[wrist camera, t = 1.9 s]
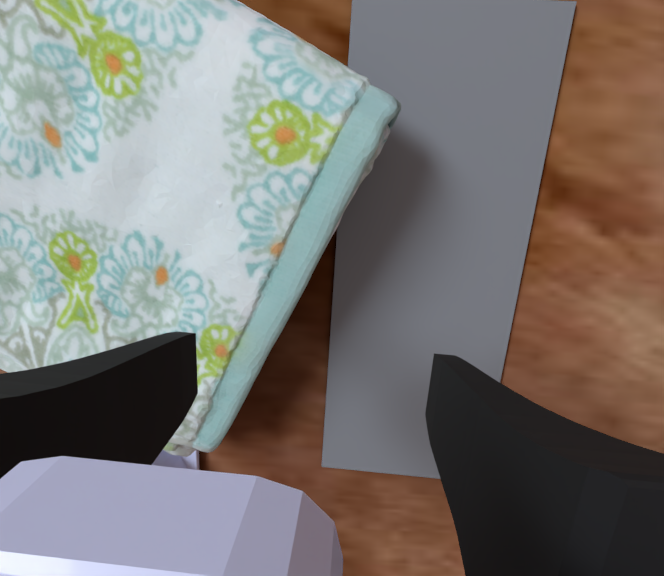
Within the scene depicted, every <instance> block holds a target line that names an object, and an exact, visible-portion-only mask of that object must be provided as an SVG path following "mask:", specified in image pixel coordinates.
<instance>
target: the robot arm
mask: <svg viewBox="0 0 664 576" xmlns="http://www.w3.org/2000/svg"><path fill="white" fill-rule="evenodd" d="M197 394H198V382H197V354H196V333H188V332H177V331H176V332H169V333H164V334H160V335H157V336H153V337H150V338H147V339H143V340H140V341H137V342H134V343H130V344H127V345H124V346H121V347H118V348H114V349H111V350H107V351H104V352H100V353H97V354H93V355H90V356H86V357H83V358H79V359H75V360H71V361H67V362H63V363H59V364H54V365H49V366H44V367H40V368H35V369H29V370H24V371H17V372H10V373H4V374H0V576H342V573H343V556H342V552H341V548H340V543H339V539H338V535H337V531H336V527H335V523H334V521H333V520H332V519H331V518H330V517H329V516H328V515H327V514H326V513H325V512H324V511H323V510H322V509H321V508H319V507H318V506H317V505H316V504H315V503H314V502H313V501H312V500H311V499H310V498H309V497H308V496H307V495H306V494H305V493H304V492H303V491H301V490H298V489H295V488H292V487H289V486H286V485H283V484H280V483H277V482H273V481H270V480H267V479H264V478H261V477H258V476H251V475H242V474H232V473H222V472H213V471H203V470H200V469H199V450H197V449H196V450H195V451H194V452H193V453H192V454H191V455H190V456H188V457H184V456H178V455H171V454H169V453H167V452H166V451H164V450H163V449H164V447H165V446H166V444H167V443H168V442H169V440H170V439H171V438H172V436H173V435H174V433H175V432H176V431H177V429H178V428H179V426H180V425H181V423H182V422H183V421H184V419H185V417H186V415H187V413H188V412H189V410H190V408H191V406H192V404H193V402H194V400H195V398H196V396H197ZM425 417H426V423H427V430H428V436H429V441H430V446H431V449H432V453H433V456H434V459H435V462H436V465H437V469H438V472H439V475H440V478H441V481H442V484H443V488H444V491H445V494H446V497H447V500H448V503H449V506H450V510H451V513H452V516H453V520H454V524H455V527H456V531H457V536H458V541H459V545H460V550H461V555H462V560H463V565H464V570H465V575H466V576H664V454H662V453H659V452H656V451H653V450H649V449H646V448H643V447H640V446H637V445H634V444H631V443H628V442H625V441H622V440H619V439H616V438H613V437H611V436H608V435H606V434H603V433H600V432H598V431H595V430H593V429H590V428H587V427H585V426H582V425H580V424H578V423H575V422H573V421H571V420H568V419H566V418H564V417H562V416H560V415H558V414H556V413H554V412H552V411H549V410H547V409H545V408H543V407H541V406H539V405H537V404H535V403H534V402H532V401H530V400H528V399H526V398H525V397H523V396H521V395H519V394H518V393H516V392H514V391H512V390H511V389H509V388H507V387H506V386H504V385H503V384H501V383H499V382H498V381H496V380H495V379H493V378H492V377H490V376H488V375H487V374H485V373H484V372H482V371H481V370H479V369H478V368H476V367H475V366H473V365H472V364H470V363H468V362H467V361H465V360H463V359H462V358H460V357H458V356H455V355H445V354H434V357H433V364H432V371H431V377H430V384H429V391H428V398H427V405H426V412H425Z"/></svg>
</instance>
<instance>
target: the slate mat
mask: <svg viewBox="0 0 664 576" xmlns="http://www.w3.org/2000/svg"><path fill="white" fill-rule="evenodd" d="M575 6H576V1H552V0H352V12H351V27H350V42H349V57H348V68H350V69H351V70H353V71H354V72H356V73H358V74H360V75H362V76H365V77H367V78H368V79H369V82H370V84H371V85H372V86H375V87H377V88H379V89H381V90H383V91H385V92H386V93H388V94H390V95H391V96H393V97H394V98H396V99H397V100H398V101H399V102H400V104H401V111H400V113H399V114H398V117H397V120H396V122H395V124H394V125H393V126H392V128H391V129H390V134H389V136H388V138H387V141H386V142H385V143H384V146H383V148H382V150H381V152H380V154H379V155H378V157H377V158H376V159H375V160H374V163H373V168H372V170H371V172H370V173H369V174H368V175H367V176H366V177H365V179H364V180H363V181H362V183H361V184H360V186H359V187H358V189H357V191H356V193H355V195H354V196H353V198H352V199H351V201H350V203H349V204H348V206H347V208H346V209H345V211H344V213H343V215H342V218H341V221H340V223H339V225H338V227H337V240H336V255H335V270H334V285H333V301H332V316H331V331H330V346H329V361H328V377H327V392H326V407H325V422H324V437H323V453H322V467H329V468H339V469H349V470H359V471H369V472H379V473H389V474H398V475H408V476H418V477H428V478H438V479H441V478H440V475H439V472H438V469H437V465H436V462H435V459H434V456H433V453H432V449H431V446H430V441H429V436H428V430H427V423H426V417H425V412H426V405H427V398H428V391H429V384H430V377H431V371H432V364H433V357H434V354H445V355H455V356H458V357H460V358H462V359H463V360H465V361H467V362H468V363H470V364H472V365H473V366H475V367H476V368H478V369H479V370H481V371H482V372H484V373H485V374H487V375H488V376H490V377H492V378H493V379H495V380H496V381H498V382H499V383H500V381H501V376H502V371H503V366H504V361H505V356H506V351H507V346H508V341H509V336H510V331H511V326H512V321H513V316H514V311H515V306H516V301H517V296H518V291H519V286H520V281H521V276H522V271H523V266H524V261H525V256H526V251H527V246H528V241H529V236H530V231H531V226H532V221H533V216H534V211H535V206H536V201H537V196H538V191H539V186H540V181H541V176H542V171H543V166H544V161H545V156H546V151H547V146H548V141H549V136H550V131H551V126H552V121H553V116H554V111H555V106H556V101H557V96H558V91H559V86H560V81H561V76H562V71H563V66H564V61H565V56H566V51H567V46H568V41H569V36H570V31H571V26H572V21H573V16H574V11H575Z"/></svg>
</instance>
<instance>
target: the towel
mask: <svg viewBox="0 0 664 576" xmlns="http://www.w3.org/2000/svg"><path fill="white" fill-rule="evenodd" d="M400 111H401V104H400V102H399V101H398V100H397V99H396V98H394V97H393V96H391V95H390V94H388V93H386V92H385V91H383V90H381V89H379V88H377V87H375V86H372V85H371V84H370V82H369V79H368V78H367V77H365V76H362V75H360V74H358V73H356V72H354V71H353V70H351V69H350V68H348V67H347V66H345V65H344V64H342V63H340V62H339V61H337V60H336V59H334V58H332V57H331V56H329V55H327V54H326V53H324V52H322V51H320V50H319V49H317V48H316V47H315V46H313V45H312V44H310V43H308V42H306V41H305V40H303V39H302V38H300V37H299V36H297V35H295V34H294V33H292V32H290V31H288V30H286V29H285V28H283V27H281V26H280V25H278V24H276V23H274V22H273V21H271V20H269V19H268V18H266V17H265V16H264V15H262V14H260V13H258V12H256V11H254V10H252V9H251V8H249V7H247V6H246V5H244V4H243V3H241V2H239V1H237V0H0V369H2V370H4V371H6V372H8V373H10V372H17V371H24V370H29V369H35V368H40V367H44V366H49V365H54V364H59V363H63V362H67V361H71V360H75V359H79V358H83V357H86V356H90V355H93V354H97V353H100V352H104V351H107V350H111V349H114V348H118V347H121V346H124V345H127V344H130V343H134V342H137V341H140V340H143V339H147V338H150V337H153V336H157V335H160V334H164V333H169V332H176V331H177V332H188V333H196V354H197V382H198V394H197V396H196V398H195V400H194V402H193V404H192V406H191V408H190V410H189V412H188V413H187V415H186V417H185V419H184V421H183V422H182V423H181V425H180V426H179V428H178V429H177V431H176V432H175V433H174V435H173V436H172V438H171V439H170V440H169V442H168V443H167V444H166V446H165V447H164V449H163V450H164V451H166V452H167V453H169V454H171V455H178V456H184V457H188V456H190V455H191V454H192V453H193V452H194V451H195V450H196V449H197V450H199V451H202V452H208V453H209V452H212V451H214V450H215V449H216V448H217V447H218V446H219V445H220V444H221V442H222V440H223V438H224V436H225V435H226V434H227V432H228V430H229V428H230V427H231V425H232V423H233V421H234V420H235V418H236V416H237V414H238V412H239V410H240V408H241V406H242V405H243V403H244V401H245V399H246V397H247V395H248V393H249V391H250V389H251V387H252V385H253V383H254V381H255V379H256V378H257V376H258V374H259V372H260V370H261V368H262V366H263V364H264V362H265V360H266V358H267V356H268V355H269V353H270V351H271V349H272V347H273V345H274V344H275V342H276V340H277V339H278V337H279V336H280V334H281V332H282V330H283V328H284V327H285V325H286V323H287V321H288V319H289V317H290V316H291V314H292V312H293V310H294V308H295V306H296V305H297V303H298V301H299V299H300V297H301V295H302V294H303V292H304V290H305V288H306V286H307V284H308V282H309V280H310V278H311V276H312V274H313V272H314V270H315V268H316V266H317V264H318V262H319V260H320V258H321V256H322V254H323V252H324V250H325V249H326V247H327V245H328V243H329V242H330V239H331V237H332V236H333V234H334V233H335V231H336V229H337V227H338V225H339V223H340V221H341V218H342V215H343V213H344V211H345V209H346V208H347V206H348V204H349V203H350V201H351V199H352V198H353V196H354V195H355V193H356V191H357V189H358V187H359V186H360V184H361V183H362V181H363V180H364V179H365V177H366V176H367V175H368V174H369V173H370V172H371V170H372V168H373V163H374V160H375V159H376V158H377V157H378V155H379V154H380V152H381V150H382V148H383V146H384V143H385V142H386V141H387V138H388V136H389V134H390V129H391V128H392V126H393V125H394V124H395V122H396V120H397V117H398V114H399V113H400Z"/></svg>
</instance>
